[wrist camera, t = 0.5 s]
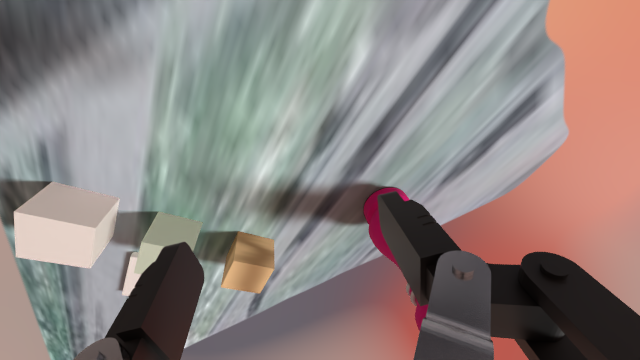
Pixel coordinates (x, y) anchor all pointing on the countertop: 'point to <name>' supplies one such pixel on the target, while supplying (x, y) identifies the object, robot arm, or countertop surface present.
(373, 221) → the pepper mill
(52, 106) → the countertop surface
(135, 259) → the tile
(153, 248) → the sage block
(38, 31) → the countertop surface
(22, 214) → the base block
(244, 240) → the maple block
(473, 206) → the countertop surface
